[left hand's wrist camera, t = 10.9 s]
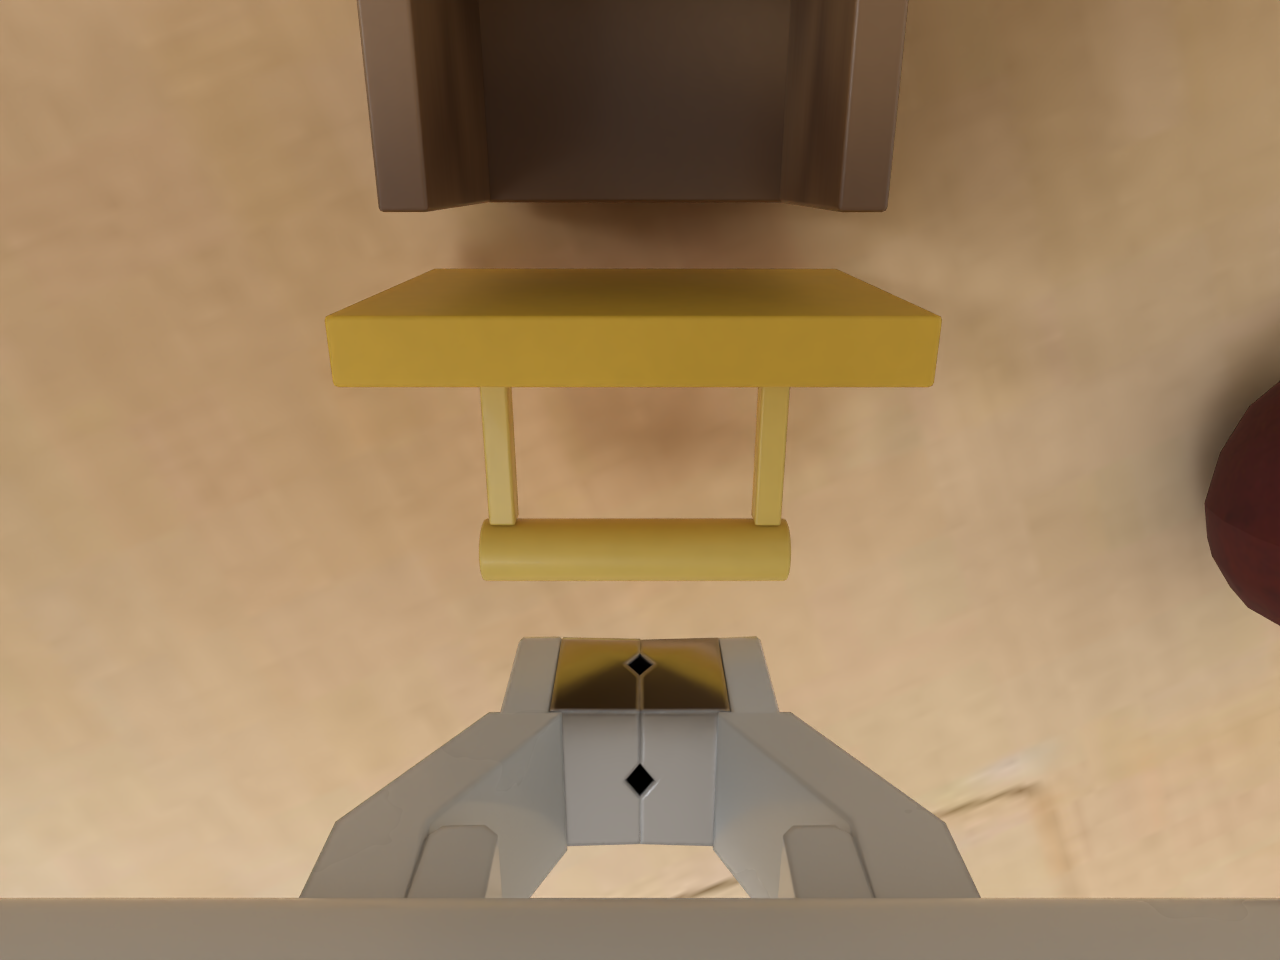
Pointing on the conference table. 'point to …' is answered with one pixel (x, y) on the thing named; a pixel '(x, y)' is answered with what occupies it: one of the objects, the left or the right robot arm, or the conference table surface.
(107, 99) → the conference table surface
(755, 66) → the drawer
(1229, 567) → the dark red ball
